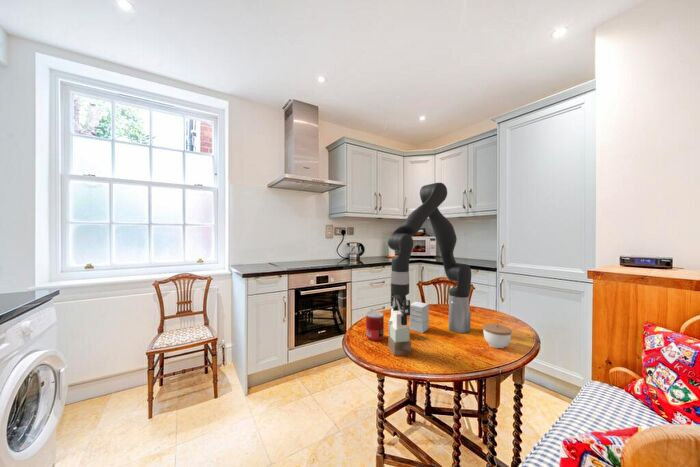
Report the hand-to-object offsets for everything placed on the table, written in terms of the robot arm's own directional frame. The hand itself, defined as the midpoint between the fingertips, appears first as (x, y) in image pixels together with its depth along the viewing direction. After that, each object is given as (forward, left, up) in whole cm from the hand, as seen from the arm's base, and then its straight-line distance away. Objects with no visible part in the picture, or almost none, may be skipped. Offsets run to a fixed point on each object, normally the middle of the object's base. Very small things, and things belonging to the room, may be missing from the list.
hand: (399, 321), depth 105 cm
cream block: (0, 0, -2) cm, 2 cm away
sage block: (0, 0, -7) cm, 7 cm away
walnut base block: (0, 0, -12) cm, 12 cm away
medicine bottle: (-6, -16, -12) cm, 21 cm away
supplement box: (-19, -19, -12) cm, 30 cm away
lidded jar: (-43, +5, -12) cm, 45 cm away
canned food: (+6, -14, -12) cm, 20 cm away
